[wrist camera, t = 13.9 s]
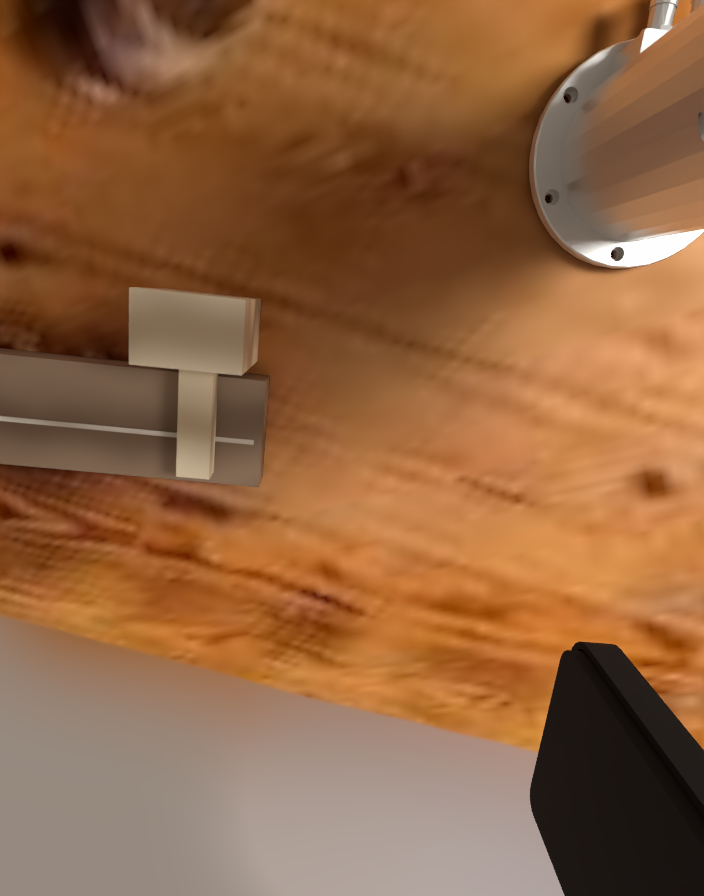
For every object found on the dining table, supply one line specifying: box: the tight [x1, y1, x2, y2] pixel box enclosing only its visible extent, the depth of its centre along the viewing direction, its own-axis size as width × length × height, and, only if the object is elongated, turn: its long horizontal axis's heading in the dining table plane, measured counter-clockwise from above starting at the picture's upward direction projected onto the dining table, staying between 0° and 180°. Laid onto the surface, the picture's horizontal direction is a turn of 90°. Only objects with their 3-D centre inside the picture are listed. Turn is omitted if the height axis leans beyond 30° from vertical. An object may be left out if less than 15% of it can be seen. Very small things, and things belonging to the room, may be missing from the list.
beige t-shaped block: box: [129, 287, 261, 480], centre depth 34 cm, size 11×6×7 cm, turn 174°
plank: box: [0, 348, 270, 487], centre depth 36 cm, size 7×24×2 cm, turn 84°
